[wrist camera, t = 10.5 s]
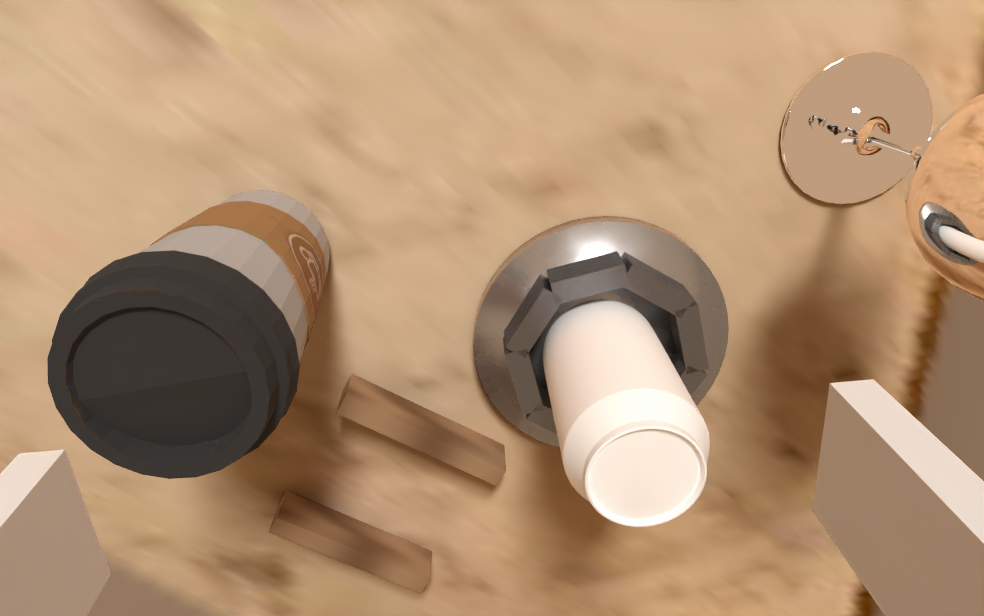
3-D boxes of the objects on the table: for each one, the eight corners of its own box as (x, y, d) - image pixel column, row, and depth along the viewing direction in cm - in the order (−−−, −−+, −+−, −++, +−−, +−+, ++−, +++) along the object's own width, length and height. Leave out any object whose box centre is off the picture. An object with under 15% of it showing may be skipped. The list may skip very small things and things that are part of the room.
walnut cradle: (278, 504, 45) (268, 532, 42) (352, 374, 41) (345, 396, 39) (422, 564, 47) (420, 593, 45) (504, 445, 44) (506, 470, 41)
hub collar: (429, 379, 42) (426, 407, 39) (558, 167, 37) (565, 182, 34) (630, 476, 45) (641, 507, 42) (773, 292, 40) (796, 314, 37)
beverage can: (637, 400, 41) (698, 548, 30) (530, 386, 41) (553, 531, 30) (665, 302, 39) (744, 423, 28) (553, 284, 38) (587, 401, 27)
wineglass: (834, 20, 35) (1250, 50, 16) (964, 89, 36) (1480, 188, 18) (747, 169, 37) (1018, 340, 19) (871, 228, 39) (1234, 438, 20)
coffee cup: (367, 304, 40) (314, 470, 26) (219, 330, 40) (89, 507, 26) (327, 154, 36) (241, 252, 23) (166, 183, 37) (-15, 298, 23)
